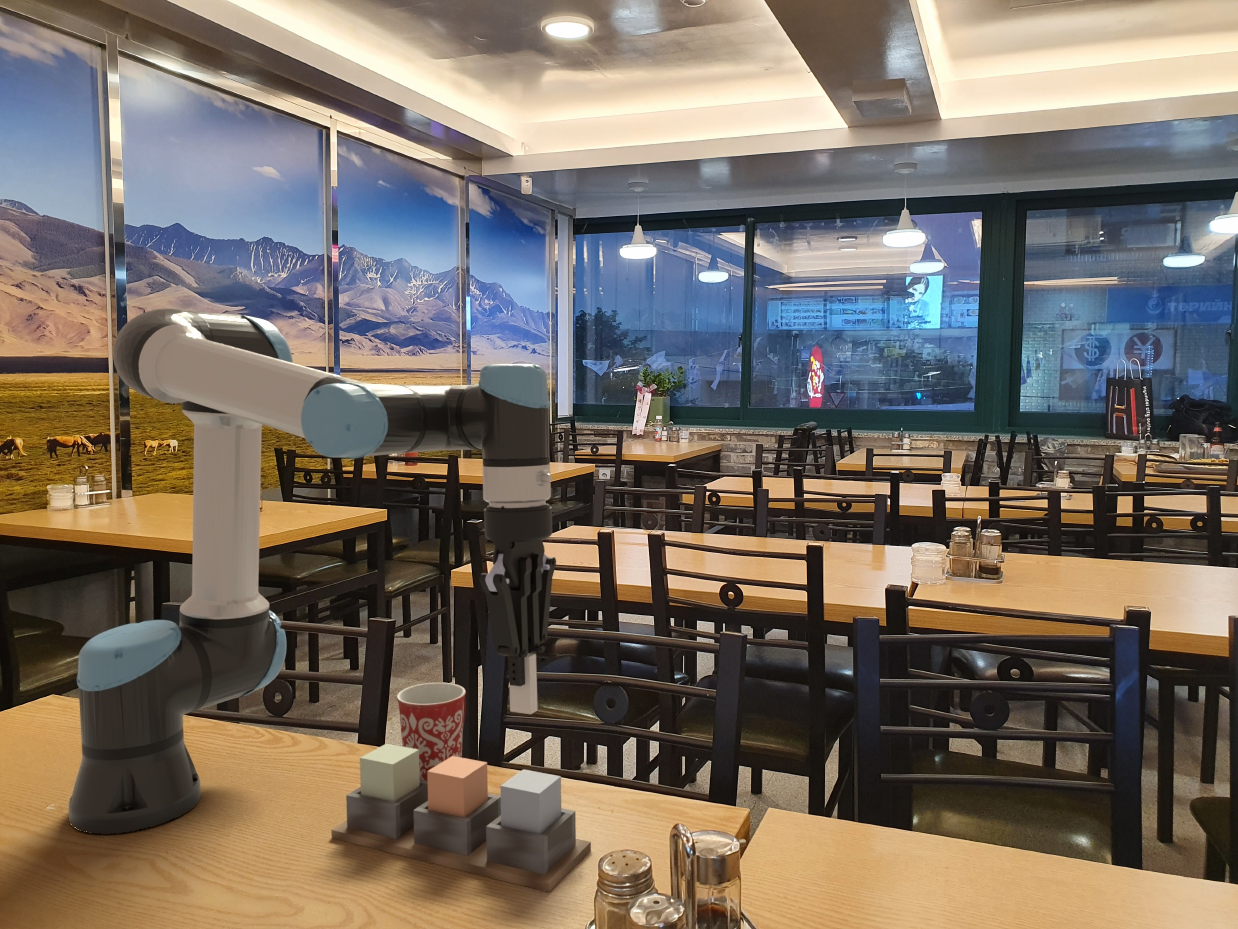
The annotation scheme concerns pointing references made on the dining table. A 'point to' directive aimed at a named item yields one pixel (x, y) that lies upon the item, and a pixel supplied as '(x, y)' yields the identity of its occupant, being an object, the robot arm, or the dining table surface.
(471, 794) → the terracotta button
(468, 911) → the dining table surface
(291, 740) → the dining table surface
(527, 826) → the slate button
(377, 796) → the sage button
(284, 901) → the dining table surface
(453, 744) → the mug
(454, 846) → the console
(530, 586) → the robot arm
